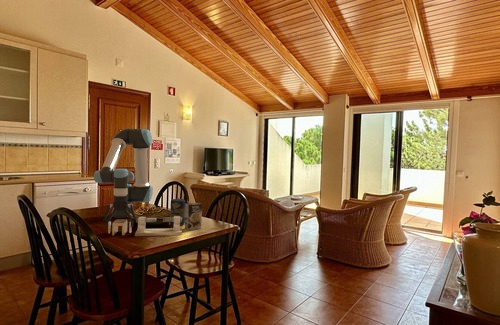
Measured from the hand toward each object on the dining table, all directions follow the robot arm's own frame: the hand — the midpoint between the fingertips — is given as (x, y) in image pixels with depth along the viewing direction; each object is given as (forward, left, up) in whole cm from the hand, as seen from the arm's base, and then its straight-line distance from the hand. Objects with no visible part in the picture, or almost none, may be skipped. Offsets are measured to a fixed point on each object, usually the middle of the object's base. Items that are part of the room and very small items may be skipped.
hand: (119, 232), depth 174 cm
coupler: (0, 0, 0) cm, 0 cm away
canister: (-17, +33, 0) cm, 37 cm away
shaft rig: (+3, +23, 0) cm, 23 cm away
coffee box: (-6, +43, 0) cm, 43 cm away
